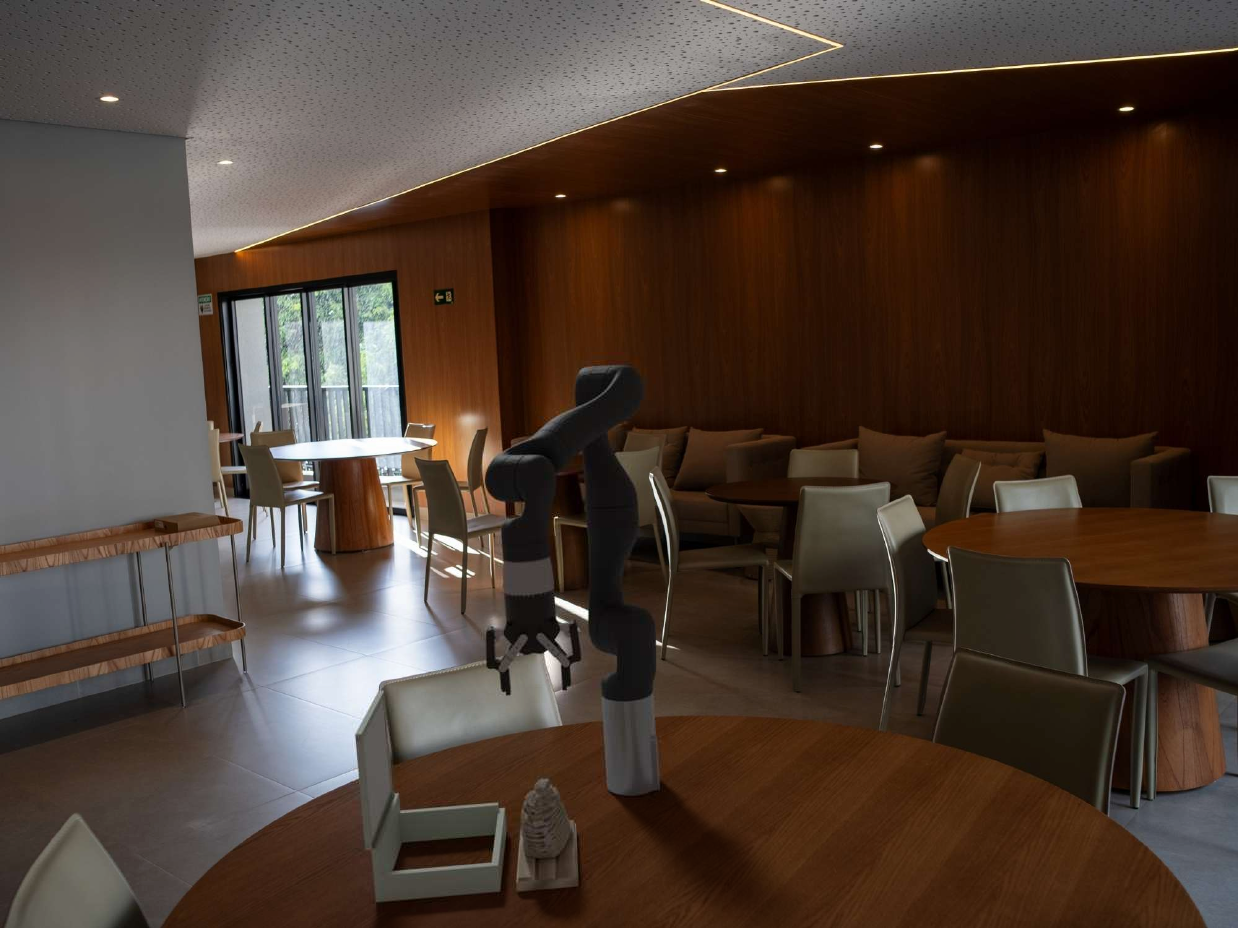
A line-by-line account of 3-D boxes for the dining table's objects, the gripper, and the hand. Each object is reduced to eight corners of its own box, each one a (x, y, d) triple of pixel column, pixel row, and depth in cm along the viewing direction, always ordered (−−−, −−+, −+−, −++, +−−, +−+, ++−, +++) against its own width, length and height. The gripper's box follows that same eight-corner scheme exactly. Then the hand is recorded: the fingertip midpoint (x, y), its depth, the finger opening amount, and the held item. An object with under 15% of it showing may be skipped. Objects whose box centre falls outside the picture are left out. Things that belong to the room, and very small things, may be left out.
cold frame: (506, 830, 166) (495, 681, 163) (500, 891, 147) (487, 723, 144) (391, 840, 165) (378, 690, 162) (370, 902, 146) (355, 734, 143)
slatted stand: (576, 831, 164) (575, 819, 164) (578, 886, 147) (577, 872, 147) (521, 836, 163) (520, 824, 163) (517, 891, 146) (516, 877, 146)
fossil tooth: (578, 832, 162) (553, 871, 147) (541, 829, 163) (512, 867, 148) (579, 762, 161) (553, 794, 147) (541, 759, 163) (512, 790, 148)
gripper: (575, 578, 155) (582, 679, 156) (482, 585, 154) (491, 687, 156) (576, 589, 147) (584, 695, 149) (479, 596, 146) (487, 703, 148)
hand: (536, 691), depth 152 cm, fingers open, 8 cm apart
